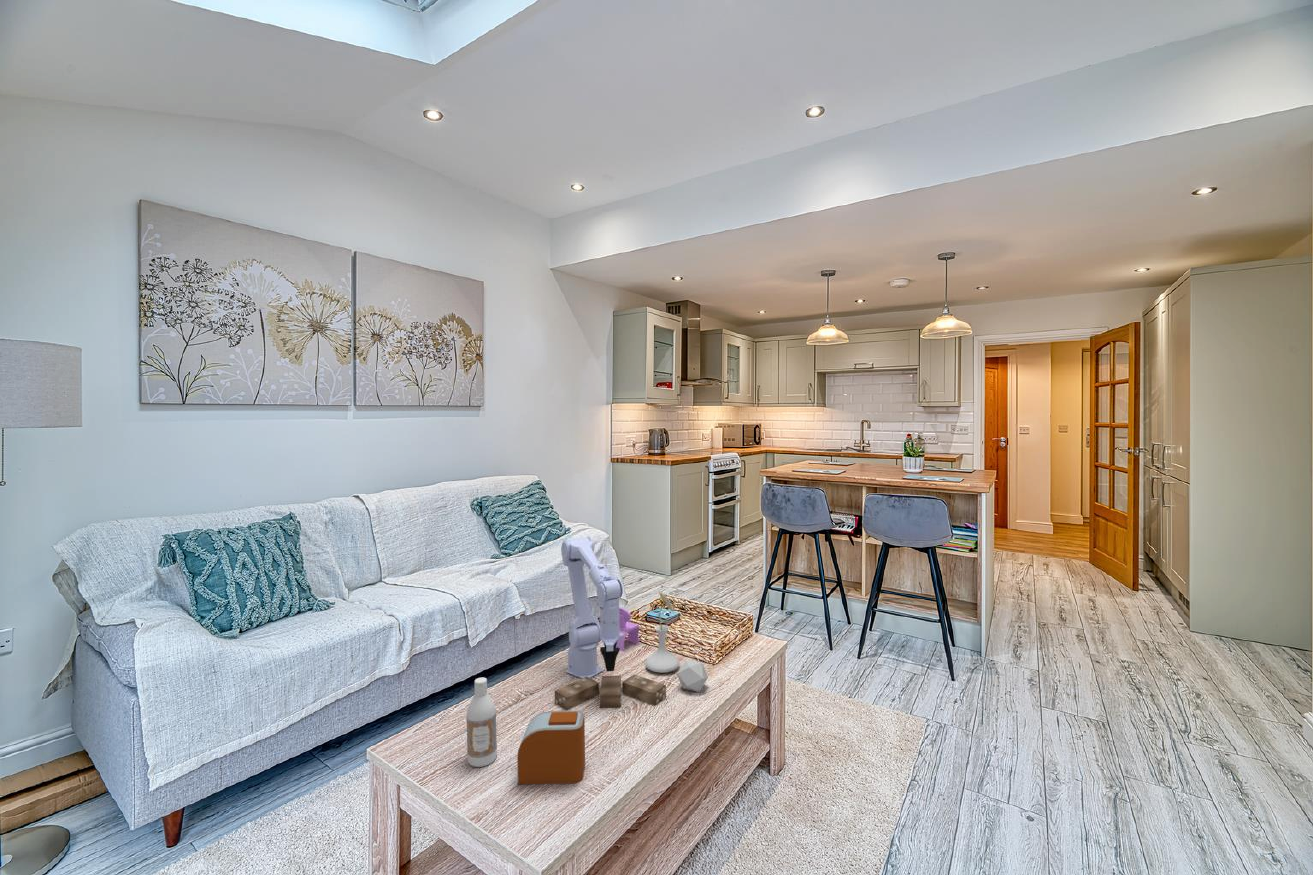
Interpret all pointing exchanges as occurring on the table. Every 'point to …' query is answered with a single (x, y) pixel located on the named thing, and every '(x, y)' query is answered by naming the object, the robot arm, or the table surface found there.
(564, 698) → the pip block three
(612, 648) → the robot arm
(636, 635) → the toy chair
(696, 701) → the table surface
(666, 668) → the flower in vase
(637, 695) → the pip block five
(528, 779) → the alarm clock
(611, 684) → the plain block
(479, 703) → the bath foam
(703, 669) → the die
